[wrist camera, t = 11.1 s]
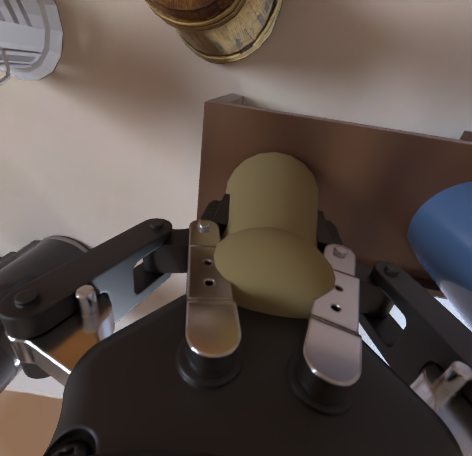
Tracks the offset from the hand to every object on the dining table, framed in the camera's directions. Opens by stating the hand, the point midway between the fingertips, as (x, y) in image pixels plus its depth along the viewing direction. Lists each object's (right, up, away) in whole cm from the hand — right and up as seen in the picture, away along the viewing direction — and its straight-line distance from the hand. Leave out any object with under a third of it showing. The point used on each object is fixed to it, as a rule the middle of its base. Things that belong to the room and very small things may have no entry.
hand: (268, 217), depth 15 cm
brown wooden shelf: (+8, +5, +11) cm, 15 cm away
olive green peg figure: (0, +1, +3) cm, 3 cm away
